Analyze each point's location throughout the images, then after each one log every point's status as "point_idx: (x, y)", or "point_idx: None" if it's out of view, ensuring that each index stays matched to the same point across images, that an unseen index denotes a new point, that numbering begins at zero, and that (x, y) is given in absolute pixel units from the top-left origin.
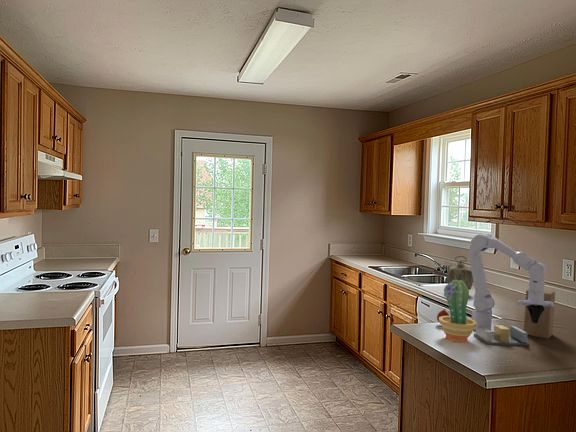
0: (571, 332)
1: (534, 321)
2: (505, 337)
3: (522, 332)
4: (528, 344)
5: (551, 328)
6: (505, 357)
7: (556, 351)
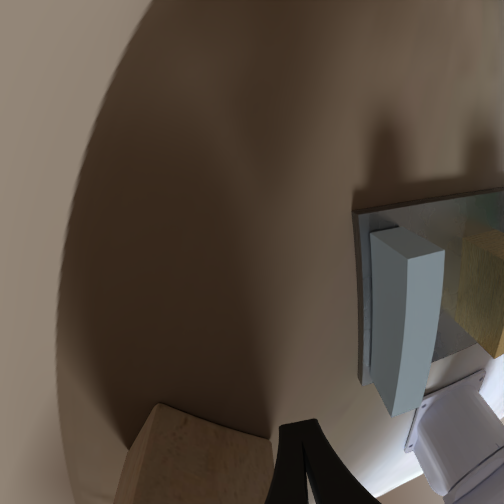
0: (66, 464)
1: (322, 431)
2: (492, 241)
3: (443, 258)
4: (363, 212)
5: (127, 466)
6: (498, 7)
7: (182, 133)
